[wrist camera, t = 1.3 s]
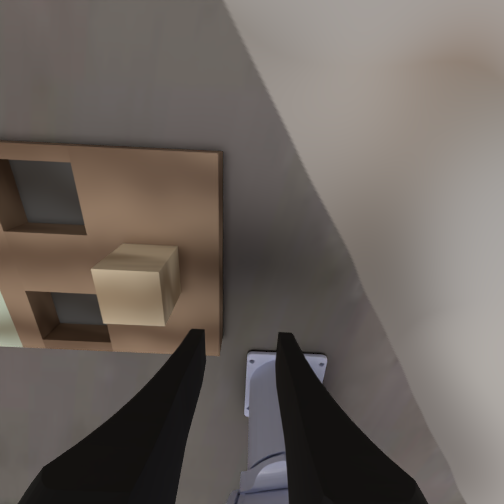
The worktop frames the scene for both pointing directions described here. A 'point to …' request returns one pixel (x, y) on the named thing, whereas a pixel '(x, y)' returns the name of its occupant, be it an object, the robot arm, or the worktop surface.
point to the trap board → (105, 241)
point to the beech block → (138, 284)
